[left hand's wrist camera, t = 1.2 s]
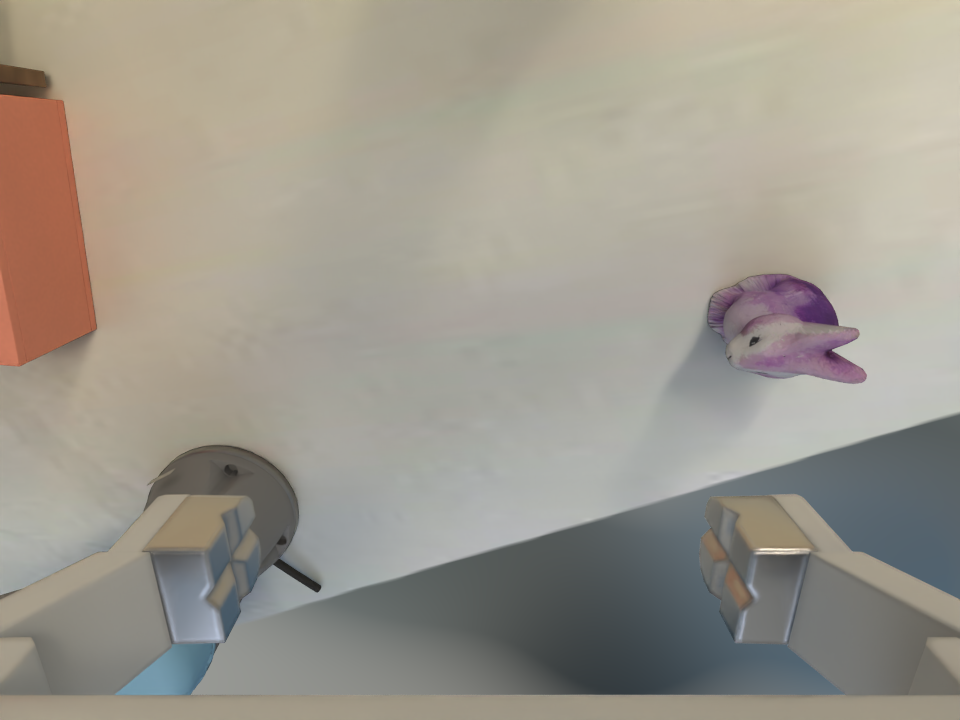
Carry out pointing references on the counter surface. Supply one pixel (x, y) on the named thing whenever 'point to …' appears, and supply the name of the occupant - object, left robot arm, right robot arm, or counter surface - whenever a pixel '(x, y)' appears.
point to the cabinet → (39, 234)
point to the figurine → (782, 329)
